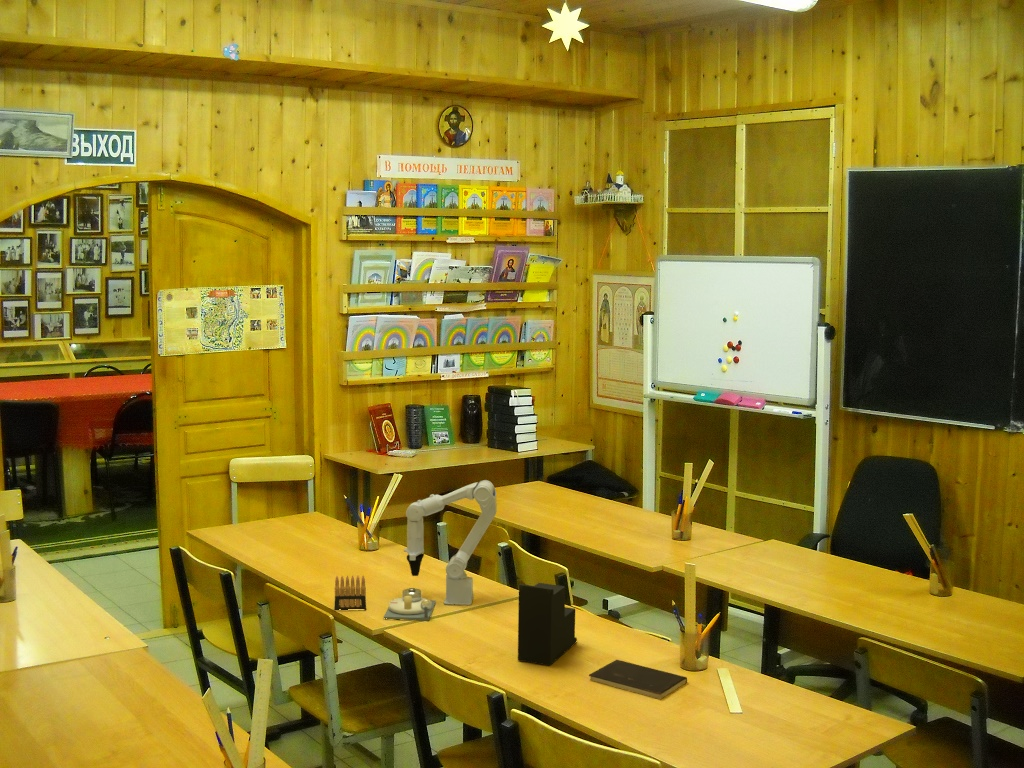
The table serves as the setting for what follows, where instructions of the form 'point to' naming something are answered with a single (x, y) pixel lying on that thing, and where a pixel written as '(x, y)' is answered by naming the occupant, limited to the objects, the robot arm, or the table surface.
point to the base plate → (417, 617)
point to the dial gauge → (426, 607)
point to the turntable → (406, 606)
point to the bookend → (544, 623)
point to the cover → (412, 594)
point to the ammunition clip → (350, 594)
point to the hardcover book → (638, 679)
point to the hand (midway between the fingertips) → (415, 575)
